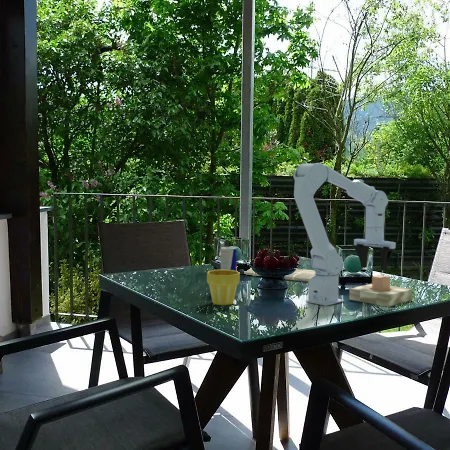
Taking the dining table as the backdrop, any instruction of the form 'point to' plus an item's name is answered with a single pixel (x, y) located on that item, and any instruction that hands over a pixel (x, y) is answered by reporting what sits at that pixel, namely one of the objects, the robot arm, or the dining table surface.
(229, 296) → the plant pot
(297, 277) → the newspaper
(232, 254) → the beverage can
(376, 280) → the peg
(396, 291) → the socket block
